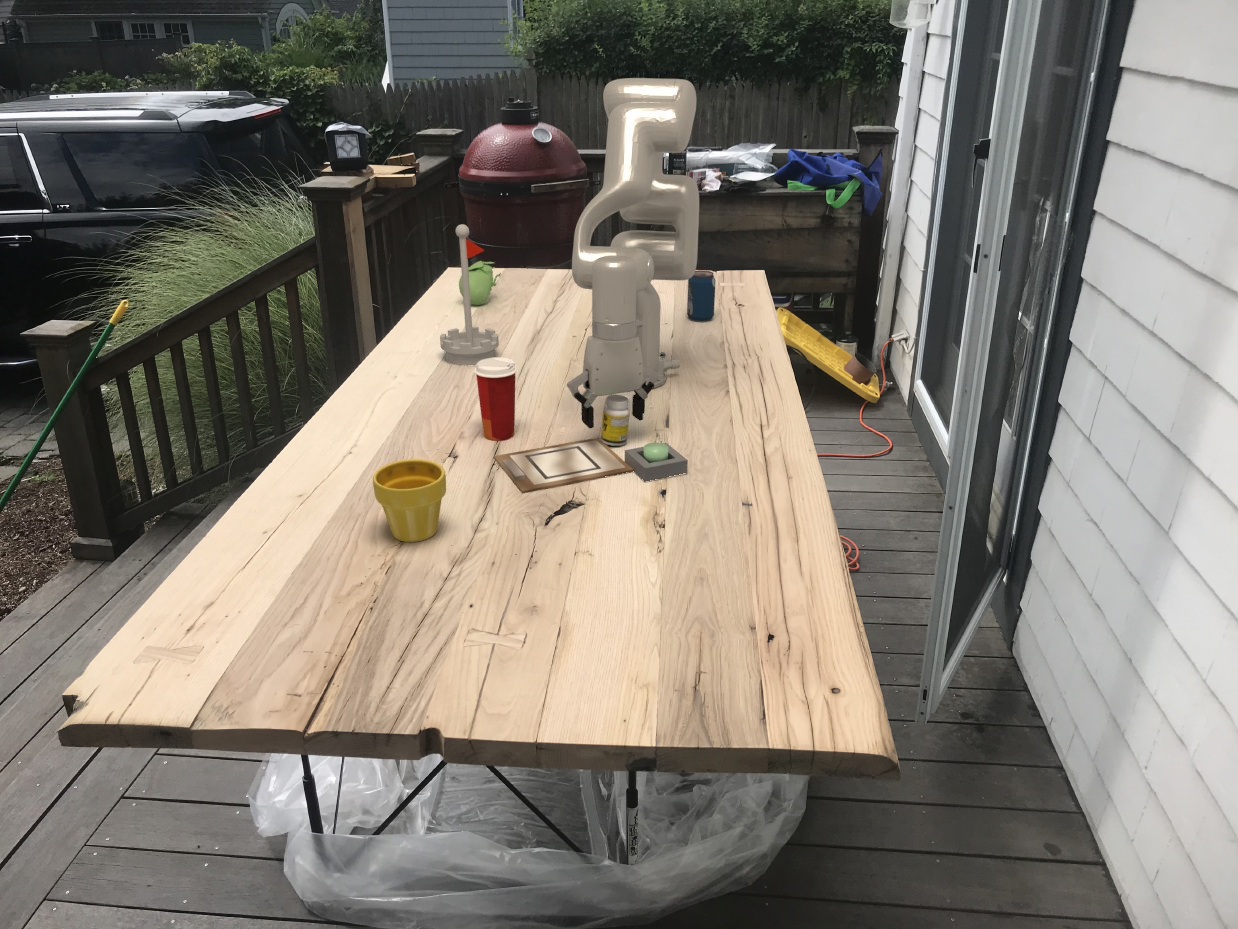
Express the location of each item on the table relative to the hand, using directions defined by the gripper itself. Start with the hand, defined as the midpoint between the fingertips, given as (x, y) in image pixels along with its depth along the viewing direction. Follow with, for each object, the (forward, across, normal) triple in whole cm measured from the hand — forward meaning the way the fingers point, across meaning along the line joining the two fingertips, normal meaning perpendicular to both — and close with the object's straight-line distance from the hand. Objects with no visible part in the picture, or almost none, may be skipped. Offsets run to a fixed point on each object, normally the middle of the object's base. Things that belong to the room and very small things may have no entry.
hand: (613, 421), depth 171 cm
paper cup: (+5, +18, -13) cm, 22 cm away
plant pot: (+6, +41, +17) cm, 45 cm away
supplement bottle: (+4, 0, -1) cm, 4 cm away
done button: (+3, -2, +12) cm, 13 cm away
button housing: (+5, -2, +12) cm, 13 cm away
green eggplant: (+2, -6, -101) cm, 101 cm away
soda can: (+2, -53, -64) cm, 83 cm away
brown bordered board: (+5, +12, +4) cm, 13 cm away
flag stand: (+4, +10, -58) cm, 58 cm away
